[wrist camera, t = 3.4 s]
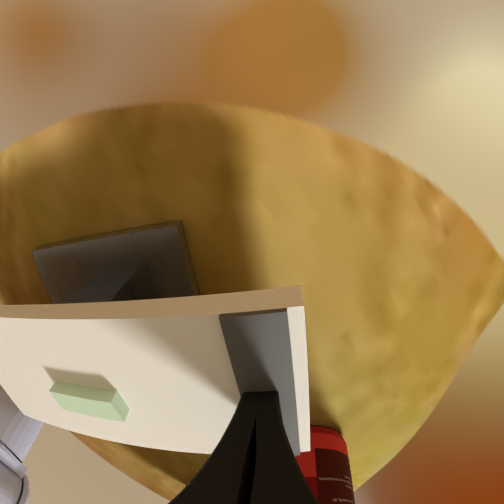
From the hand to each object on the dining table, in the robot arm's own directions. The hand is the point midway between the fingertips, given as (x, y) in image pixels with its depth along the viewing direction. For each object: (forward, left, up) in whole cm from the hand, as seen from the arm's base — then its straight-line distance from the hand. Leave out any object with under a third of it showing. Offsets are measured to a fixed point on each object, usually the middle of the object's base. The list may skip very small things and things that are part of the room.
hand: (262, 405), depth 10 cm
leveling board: (-6, +5, -1) cm, 8 cm away
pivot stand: (-6, +5, -6) cm, 10 cm away
